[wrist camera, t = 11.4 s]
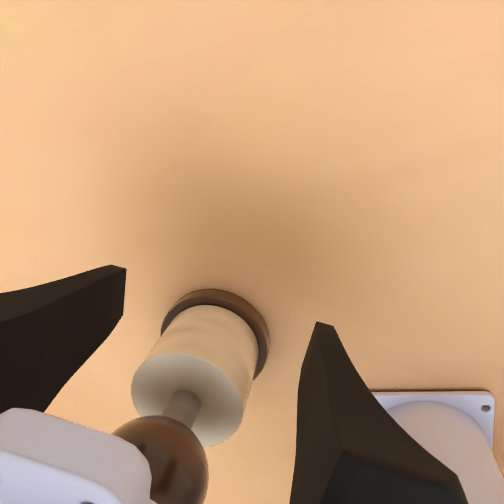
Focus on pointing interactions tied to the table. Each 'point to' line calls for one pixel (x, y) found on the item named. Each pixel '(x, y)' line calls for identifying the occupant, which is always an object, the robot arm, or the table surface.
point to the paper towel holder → (194, 390)
